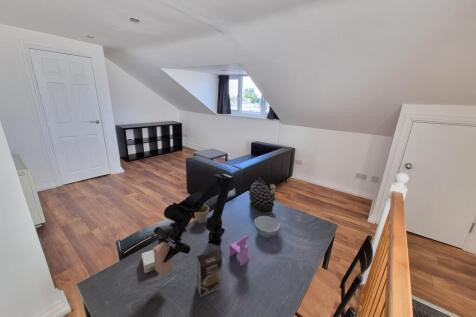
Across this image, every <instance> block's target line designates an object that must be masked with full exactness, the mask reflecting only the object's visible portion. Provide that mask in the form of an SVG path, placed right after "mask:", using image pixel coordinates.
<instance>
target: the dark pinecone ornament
mask: <svg viewBox="0 0 476 317" xmlns="http://www.w3.org/2000/svg"><path fill="white" fill-rule="evenodd" d="M275 192H276V184H274V183H272V184H271V183H270V182H269V181H268V180H265V178H263V177H262V176H258V178H257V180H255V182H253V183H252V184H250V189H249V193H248V195H249V207H250V209H251V210H252V211H254V212H256V213H257V214H259V215H262V216H270V215H271V214H272V213H273V211H274V207H275V201H276V198H275V196H276V195H275Z"/></svg>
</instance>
